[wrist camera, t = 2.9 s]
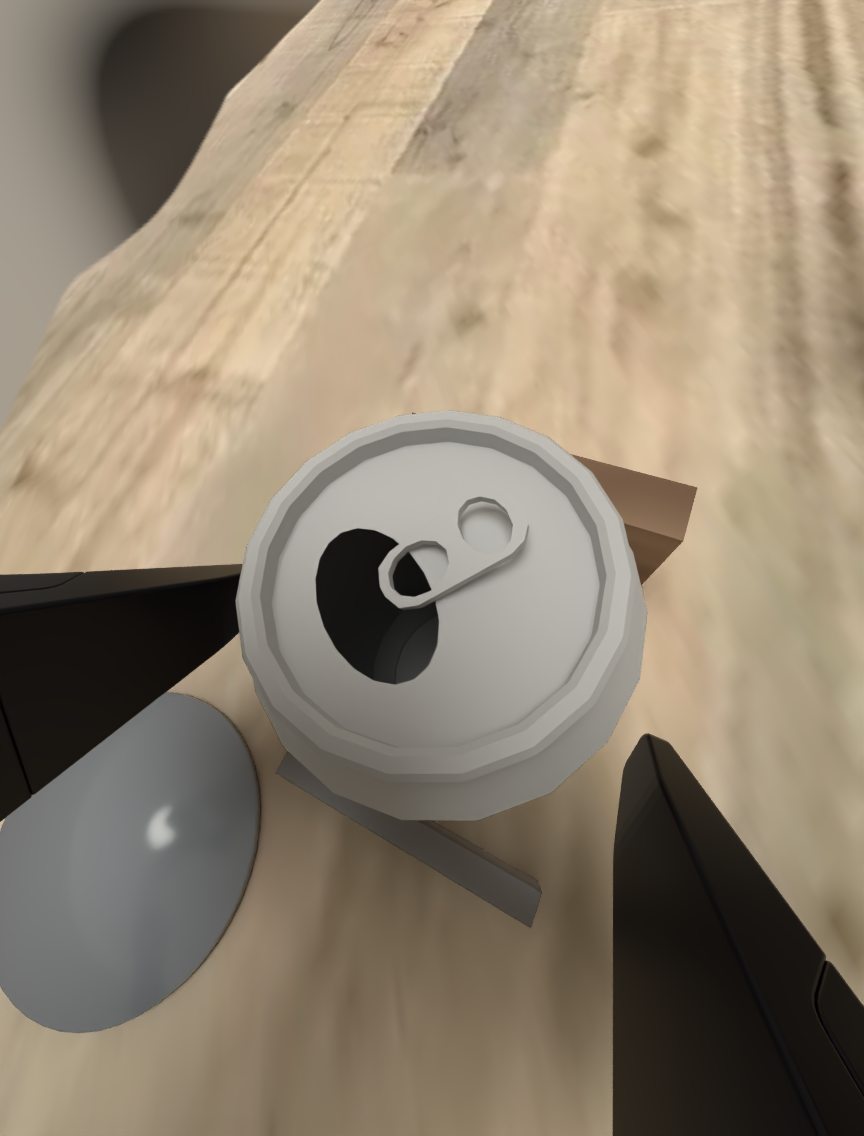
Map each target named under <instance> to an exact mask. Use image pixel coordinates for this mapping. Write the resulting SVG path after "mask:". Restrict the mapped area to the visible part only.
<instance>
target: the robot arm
mask: <svg viewBox="0 0 864 1136" xmlns="http://www.w3.org/2000/svg"><path fill="white" fill-rule="evenodd" d="M242 565H243V564H232V565H212V566H191V567H171V568H151V569H131V570H110V571H90V572H85V573H84V572H69V573H45V574H13V575H0V822H1V821H2V820H3V819H5V818H6V817H7V816H8V815H10V814H11V813H12V812H14V811H15V810H16V809H17V808H19V807H20V806H21V805H23V804H24V803H25V802H26V801H28V800H29V799H30V798H31V797H32V795H35V794H36V793H37V792H39V791H40V790H41V789H42V788H44V787H45V786H46V785H48V784H49V783H50V782H51V781H53V780H54V779H55V778H57V777H58V776H59V775H60V774H62V773H63V772H64V771H66V770H67V769H68V768H69V767H71V766H72V765H73V764H75V763H76V762H77V761H78V760H80V759H81V758H82V757H83V756H85V755H86V754H87V753H89V752H90V751H91V750H92V749H94V748H95V747H96V746H98V745H99V744H100V743H101V742H103V741H104V740H105V739H107V738H108V737H109V736H110V735H112V734H113V733H114V732H115V731H117V730H118V729H119V728H121V727H122V726H123V725H124V724H126V723H127V722H128V721H130V720H131V719H132V718H133V717H135V716H136V715H137V714H139V713H140V712H141V711H142V710H144V709H145V708H146V707H147V706H149V705H150V704H151V703H153V702H154V701H155V700H156V699H158V698H159V697H160V696H162V695H163V694H164V693H165V692H167V691H168V690H169V689H171V688H172V687H173V686H174V685H176V684H177V683H178V682H180V681H181V680H182V679H183V678H185V677H186V676H187V675H188V674H190V673H191V672H192V671H194V670H195V669H196V668H197V667H199V666H200V665H201V664H203V663H204V662H205V661H206V660H208V659H209V658H210V657H212V656H213V655H214V654H215V653H217V652H218V651H219V650H220V649H221V648H223V647H224V646H225V645H226V644H227V643H228V642H229V641H231V640H232V639H233V638H234V637H235V636H236V635H237V634H238V633H239V625H238V617H237V609H236V601H235V600H236V595H237V590H238V585H239V580H240V575H241V570H242ZM825 960H826V955H825V953H824V952H823V951H822V949H821V948H820V946H819V945H818V944H817V942H816V941H815V940H814V938H813V937H812V936H811V934H810V933H809V932H808V930H807V929H806V927H805V926H804V925H803V923H802V922H801V921H800V919H799V918H798V917H797V915H796V914H795V913H794V911H793V910H792V908H791V907H790V906H789V904H788V903H787V902H786V900H785V899H784V898H783V896H782V895H781V894H780V892H779V891H778V889H777V888H776V887H775V885H774V884H773V883H772V881H771V880H770V879H769V877H768V876H767V875H766V873H765V872H764V870H763V869H762V868H761V866H760V865H759V864H758V862H757V861H756V860H755V858H754V857H753V856H752V854H751V853H750V851H749V850H748V849H747V847H746V846H745V845H744V843H743V842H742V841H741V839H740V838H739V837H738V835H737V834H736V832H735V831H734V830H733V828H732V827H731V826H730V824H729V823H728V822H727V820H726V819H725V818H724V816H723V815H722V813H721V812H720V811H719V809H718V808H717V807H716V805H715V804H714V803H713V801H712V800H711V798H710V797H709V796H708V794H707V793H706V792H705V790H704V789H703V788H702V786H701V785H700V784H699V782H698V781H697V779H696V778H695V777H694V775H693V774H692V773H691V771H690V770H689V769H688V767H687V766H686V765H685V763H684V762H683V760H682V759H681V758H680V756H679V755H678V754H677V752H676V751H675V750H674V748H673V747H672V746H671V744H670V743H669V742H667V741H665V740H663V739H661V738H658V737H656V736H654V735H651V734H649V733H647V734H644V735H643V736H642V737H641V738H640V740H639V741H638V743H637V745H636V746H635V748H634V750H633V751H632V753H631V755H630V756H629V758H628V760H627V762H626V764H625V767H624V770H623V776H622V784H621V792H620V800H619V808H618V817H617V825H616V833H615V842H614V856H613V1136H864V1006H863V1004H862V1003H861V1002H860V1000H859V999H858V998H857V996H856V995H855V994H854V992H853V991H852V990H851V988H850V987H849V986H848V984H847V983H846V981H845V980H844V979H843V977H842V976H841V975H840V973H839V972H838V971H837V969H836V968H835V967H834V965H833V964H832V963H831V962H829V961H825Z"/></svg>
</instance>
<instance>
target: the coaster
mask: <svg viewBox="0 0 864 1136" xmlns="http://www.w3.org/2000/svg"><path fill="white" fill-rule="evenodd" d="M259 829H260V795H259V785H258V780H257V774H256V769H255V766H254V763H253V760H252V757H251V754H250V751H249V749H248V747H247V745H246V743H245V741H244V739H243V737H242V736H241V734H240V733H239V731H238V730H237V729H236V727H235V726H234V724H233V723H232V722H231V721H230V720H229V719H228V718H227V717H226V716H225V715H224V714H223V713H221V712H220V711H219V710H217V709H216V708H215V707H213V706H212V705H210V704H208V703H206V702H204V701H202V700H200V699H197V698H194V697H190V696H187V695H181V694H174V693H167V692H165V693H164V694H163V695H162V696H160V697H159V698H158V699H156V700H155V701H154V702H153V703H151V704H150V705H149V706H147V707H146V708H145V709H144V710H142V711H141V712H140V713H139V714H137V715H136V716H135V717H133V718H132V719H131V720H130V721H128V722H127V723H126V724H124V725H123V726H122V727H121V728H119V729H118V730H117V731H115V732H114V733H113V734H112V735H110V736H109V737H108V738H107V739H105V740H104V741H103V742H101V743H100V744H99V745H98V746H96V747H95V748H94V749H92V750H91V751H90V752H89V753H87V754H86V755H85V756H83V757H82V758H81V759H80V760H78V761H77V762H76V763H75V764H73V765H72V766H71V767H69V768H68V769H67V770H66V771H64V772H63V773H62V774H60V775H59V776H58V777H57V778H55V779H54V780H53V781H51V782H50V783H49V784H48V785H46V786H45V787H44V788H42V789H41V790H40V791H39V792H37V793H36V794H35V795H32V797H31V798H30V799H29V800H28V801H26V802H25V803H24V804H23V805H21V806H20V807H19V808H17V809H16V810H15V811H14V812H12V813H11V814H10V815H8V816H7V817H6V819H5V821H4V823H3V825H2V828H1V831H0V986H1V988H2V990H3V991H4V993H5V994H6V996H7V997H8V998H9V1000H10V1001H11V1002H12V1004H13V1005H14V1006H15V1007H16V1008H17V1009H19V1010H20V1011H21V1012H22V1013H23V1014H24V1015H25V1016H26V1017H28V1018H29V1019H31V1020H33V1021H35V1022H36V1023H38V1024H40V1025H42V1026H44V1027H47V1028H50V1029H54V1030H57V1031H60V1032H72V1033H85V1032H94V1031H101V1030H104V1029H107V1028H111V1027H114V1026H118V1025H120V1024H123V1023H125V1022H127V1021H129V1020H131V1019H133V1018H135V1017H137V1016H139V1015H141V1014H143V1013H144V1012H146V1011H147V1010H149V1009H150V1008H152V1007H153V1006H155V1005H156V1004H158V1003H159V1002H161V1001H162V1000H163V999H164V998H166V997H167V996H168V995H169V994H171V993H172V992H173V991H174V990H175V989H176V988H178V987H179V986H180V985H181V984H182V983H183V982H185V981H186V980H187V979H188V978H189V977H190V976H191V975H192V973H193V972H194V971H195V970H196V969H197V968H198V967H199V966H200V965H201V964H202V963H203V961H204V960H205V959H206V958H207V956H208V955H209V953H210V952H211V951H212V949H213V948H214V947H215V945H216V944H217V943H218V941H219V940H220V938H221V936H222V935H223V933H224V931H225V930H226V928H227V926H228V925H229V923H230V921H231V920H232V918H233V916H234V913H235V911H236V909H237V907H238V905H239V903H240V901H241V898H242V896H243V894H244V891H245V888H246V885H247V882H248V879H249V877H250V874H251V870H252V866H253V862H254V858H255V854H256V849H257V842H258V836H259Z"/></svg>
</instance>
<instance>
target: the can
mask: <svg viewBox="0 0 864 1136" xmlns="http://www.w3.org/2000/svg"><path fill="white" fill-rule="evenodd" d="M235 601H236V609H237V617H238V625H239V633H240V641H241V649H242V657H243V660H244V662H245V664H246V666H247V667H248V669H249V671H250V673H251V675H252V677H253V681H254V688H255V692H256V694H257V696H258V698H259V700H260V702H261V704H262V706H263V708H264V710H265V712H266V714H267V716H268V717H269V719H270V721H271V723H272V725H273V727H274V729H275V731H276V733H277V735H278V737H279V739H280V741H281V743H282V745H283V747H284V748H285V749H286V750H287V751H288V752H289V753H291V754H292V755H293V756H294V757H295V758H296V759H297V760H298V761H299V762H300V763H301V764H302V765H304V766H305V767H306V768H307V769H308V770H309V771H310V772H311V773H312V774H313V775H314V776H316V777H317V778H318V779H319V780H320V781H321V782H322V783H323V784H324V785H325V786H326V787H327V788H329V789H330V790H331V791H332V792H333V793H334V794H337V795H339V796H342V797H345V798H347V799H350V800H352V801H355V802H357V803H360V804H362V805H365V806H367V807H370V808H372V809H375V810H377V811H380V812H382V813H385V814H387V815H390V816H392V817H395V818H398V819H400V820H463V821H478V820H481V819H483V818H486V817H489V816H491V815H494V814H497V813H499V812H502V811H505V810H507V809H510V808H513V807H515V806H518V805H521V804H523V803H526V802H528V801H531V800H534V799H536V798H539V797H542V796H544V795H547V794H550V793H551V792H552V791H553V790H555V789H556V788H557V787H558V786H559V785H560V784H561V783H562V782H564V781H565V780H566V779H567V778H568V777H569V776H570V775H571V774H573V773H574V772H575V771H576V770H577V769H578V768H579V767H580V766H581V765H583V764H584V763H585V762H586V761H587V760H588V759H589V758H590V757H592V756H593V755H594V754H595V753H596V752H597V751H598V750H599V749H600V748H602V747H603V746H604V745H605V744H606V743H607V742H608V740H609V738H610V736H611V734H612V732H613V730H614V728H615V726H616V724H617V722H618V720H619V718H620V716H621V715H622V713H623V711H624V709H625V707H626V705H627V703H628V701H629V699H630V697H631V695H632V693H633V691H634V689H635V687H636V685H637V683H638V682H639V680H640V674H641V665H642V656H643V647H644V639H645V630H646V621H647V608H646V604H645V600H644V596H643V591H642V587H641V583H640V579H639V575H638V571H637V567H636V562H635V558H634V554H633V551H632V549H631V548H630V546H629V544H628V539H627V535H626V531H625V527H624V522H623V519H622V517H621V516H620V514H619V513H618V511H617V510H616V508H615V507H614V505H613V504H612V502H611V500H610V499H609V497H608V496H607V494H606V493H605V491H604V490H603V488H602V487H601V485H600V484H599V482H598V480H597V479H596V477H595V476H594V474H593V473H592V472H591V471H590V470H589V469H588V468H587V467H585V466H584V465H583V464H582V463H580V462H579V461H578V460H577V459H575V458H574V457H573V456H572V455H570V454H569V453H568V452H567V451H566V450H564V449H563V448H562V447H561V446H559V445H558V444H557V443H556V442H554V441H553V440H552V439H551V438H549V437H547V436H544V435H542V434H540V433H537V432H535V431H533V430H530V429H528V428H525V427H523V426H521V425H518V424H516V423H513V422H511V421H509V420H506V419H504V418H502V417H495V416H488V415H480V414H473V413H466V412H459V411H451V410H448V411H438V412H429V413H419V414H410V415H401V416H396V417H394V418H391V419H388V420H385V421H382V422H379V423H377V424H374V425H371V426H368V427H365V428H363V429H360V430H357V431H354V432H351V433H349V434H348V435H346V436H345V437H343V438H342V439H340V440H338V441H337V442H335V443H334V444H332V445H331V446H329V447H328V448H326V449H325V450H323V451H322V452H320V453H318V454H317V455H315V456H314V457H312V458H311V459H309V460H308V461H306V462H305V464H304V465H303V466H302V467H301V468H300V469H299V470H298V471H297V472H296V473H295V474H294V475H293V476H292V477H291V479H290V480H289V481H288V482H287V483H286V484H285V485H284V486H283V487H282V488H281V489H280V490H279V491H278V493H277V494H276V495H275V496H274V497H273V498H272V499H271V501H270V502H269V504H268V506H267V508H266V510H265V512H264V514H263V516H262V518H261V520H260V521H259V523H258V525H257V527H256V529H255V531H254V533H253V535H252V537H251V538H250V540H249V542H248V544H247V546H246V550H245V555H244V560H243V565H242V570H241V575H240V580H239V585H238V590H237V595H236V600H235Z"/></svg>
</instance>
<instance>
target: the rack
mask: <svg viewBox="0 0 864 1136" xmlns="http://www.w3.org/2000/svg"><path fill="white" fill-rule="evenodd" d="M412 414H416V413H412ZM570 455H571V454H570ZM572 456H573V457H574V458H575V459H577V460H578V461H579V462H580V463H582V464H583V465H584V466H585V467H587V468H588V469H589V470H590V471H591V472H592V473H593V474H594V476H595V477H596V479H597V480H598V482H599V484H600V485H601V487H602V488H603V490H604V491H605V493H606V494H607V496H608V497H609V499H610V500H611V502H612V504H613V505H614V507H615V508H616V510H617V511H618V513H619V514H620V516H621V517H622V519H623V522H624V527H625V531H626V535H627V539H628V544H629V546H630V548H631V549H632V551H633V554H634V558H635V562H636V567H637V571H638V575H639V579H640V583H641V585H642V584H643V583H644V582H645V581H646V580H647V579H648V577H649V576H650V575H651V574H652V573H653V572H654V571H655V570H656V569H657V568H658V567H659V566H660V565H661V564H662V563H663V562H664V561H665V560H666V558H667V557H668V556H669V555H670V554H671V553H672V552H673V551H674V550H675V549H676V548H677V547H678V546H679V545H680V544H681V543H682V542H683V540H684V536H685V532H686V528H687V525H688V521H689V517H690V513H691V510H692V506H693V502H694V498H695V495H696V491H697V487H693V486H689V485H686V484H682V483H678V482H674V481H670V480H667V479H663V478H659V477H655V476H651V475H648V474H644V473H640V472H636V471H632V470H629V469H625V468H621V467H617V466H613V465H609V464H606V463H602V462H598V461H594V460H590V459H587V458H583V457H579V456H575V455H572ZM276 774H278V775H280V776H281V777H283V778H285V779H286V780H288V781H289V782H291V783H293V784H294V785H296V786H298V787H299V788H301V789H303V790H304V791H306V792H308V793H309V794H311V795H312V796H314V797H316V798H317V799H319V800H321V801H322V802H324V803H326V804H327V805H329V806H331V807H332V808H334V809H335V810H337V811H339V812H340V813H342V814H344V815H345V816H347V817H349V818H350V819H352V820H354V821H355V822H357V823H358V824H360V825H362V826H363V827H365V828H367V829H368V830H370V831H372V832H373V833H375V834H377V835H378V836H380V837H382V838H383V839H385V840H386V841H388V842H390V843H391V844H393V845H395V846H396V847H398V848H400V849H401V850H403V851H405V852H406V853H408V854H409V855H411V856H413V857H414V858H416V859H418V860H419V861H421V862H423V863H424V864H426V865H428V866H429V867H431V868H432V869H434V870H436V871H437V872H439V873H441V874H442V875H444V876H446V877H447V878H449V879H451V880H452V881H454V882H456V883H457V884H459V885H460V886H462V887H464V888H465V889H467V890H469V891H470V892H472V893H474V894H475V895H477V896H479V897H480V898H482V899H483V900H485V901H487V902H488V903H490V904H492V905H493V906H495V907H497V908H498V909H500V910H502V911H503V912H505V913H506V914H508V915H510V916H511V917H513V918H515V919H516V920H518V921H520V922H521V923H523V924H525V925H526V926H528V927H530V928H531V927H532V924H533V920H534V917H535V914H536V910H537V907H538V904H539V900H540V897H541V894H542V892H541V889H540V886H539V884H538V881H536V880H535V879H533V878H531V877H529V876H528V875H526V874H524V873H522V872H521V871H519V870H517V869H515V868H514V867H512V866H510V865H508V864H507V863H505V862H503V861H501V860H500V859H498V858H496V857H494V856H493V855H491V854H489V853H487V852H486V851H484V850H482V849H480V848H479V847H477V846H475V845H473V844H472V843H470V842H468V841H466V840H465V839H463V838H461V837H459V836H458V835H456V834H454V833H452V832H451V831H449V830H447V829H445V828H444V827H442V826H440V825H438V824H437V823H435V822H433V821H431V820H400V819H398V818H395V817H392V816H390V815H387V814H385V813H382V812H380V811H377V810H375V809H372V808H370V807H367V806H365V805H362V804H360V803H357V802H355V801H352V800H350V799H347V798H345V797H342V796H339V795H337V794H334V793H333V792H332V791H331V790H330V789H329V788H327V787H326V786H325V785H324V784H323V783H322V782H321V781H320V780H319V779H318V778H317V777H316V776H314V775H313V774H312V773H311V772H310V771H309V770H308V769H307V768H306V767H305V766H304V765H302V764H301V763H300V762H299V761H298V760H297V759H296V758H295V757H294V756H293V755H292V754H291V753H289V752H288V751H287V753H286V755H285V757H284V758H283V760H282V762H281V764H280V766H279V768H278V770H277V771H276Z"/></svg>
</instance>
